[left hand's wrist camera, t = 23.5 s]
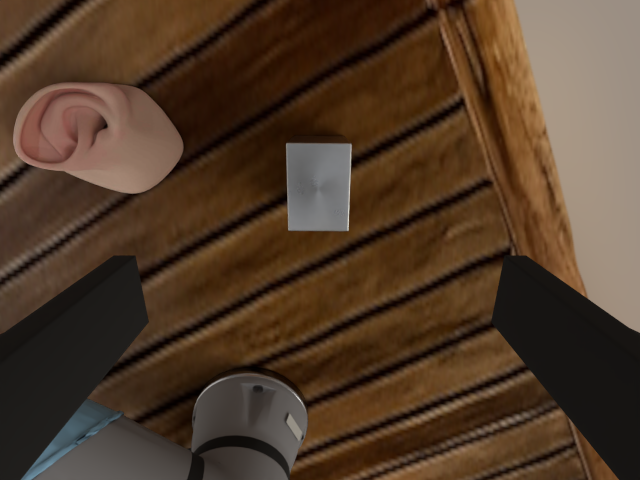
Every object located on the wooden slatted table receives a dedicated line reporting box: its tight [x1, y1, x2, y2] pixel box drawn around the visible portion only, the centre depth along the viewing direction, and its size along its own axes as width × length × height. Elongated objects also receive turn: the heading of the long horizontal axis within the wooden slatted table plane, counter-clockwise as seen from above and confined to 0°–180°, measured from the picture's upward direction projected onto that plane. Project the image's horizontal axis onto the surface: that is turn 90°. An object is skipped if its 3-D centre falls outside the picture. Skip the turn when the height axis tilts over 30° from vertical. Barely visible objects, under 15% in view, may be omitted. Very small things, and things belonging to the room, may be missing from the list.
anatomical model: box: [13, 82, 183, 193], centre depth 33 cm, size 13×4×12 cm
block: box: [286, 136, 352, 231], centre depth 33 cm, size 5×7×8 cm
